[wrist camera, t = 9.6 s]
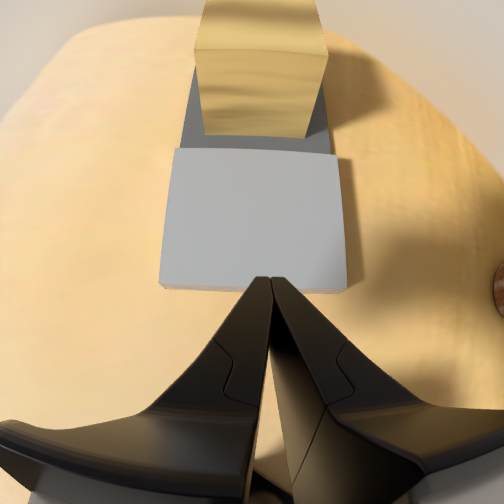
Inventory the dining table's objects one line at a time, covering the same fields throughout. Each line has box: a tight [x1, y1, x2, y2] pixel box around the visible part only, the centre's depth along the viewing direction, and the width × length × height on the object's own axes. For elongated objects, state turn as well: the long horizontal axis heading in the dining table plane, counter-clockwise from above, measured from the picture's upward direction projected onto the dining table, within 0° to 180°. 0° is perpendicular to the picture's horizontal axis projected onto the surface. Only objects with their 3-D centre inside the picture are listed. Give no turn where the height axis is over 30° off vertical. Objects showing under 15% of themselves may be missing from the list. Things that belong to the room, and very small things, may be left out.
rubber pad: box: [180, 65, 331, 154], centre depth 26 cm, size 11×12×1 cm
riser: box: [159, 148, 347, 294], centre depth 22 cm, size 10×12×2 cm
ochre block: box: [194, 0, 329, 139], centre depth 22 cm, size 8×8×9 cm
